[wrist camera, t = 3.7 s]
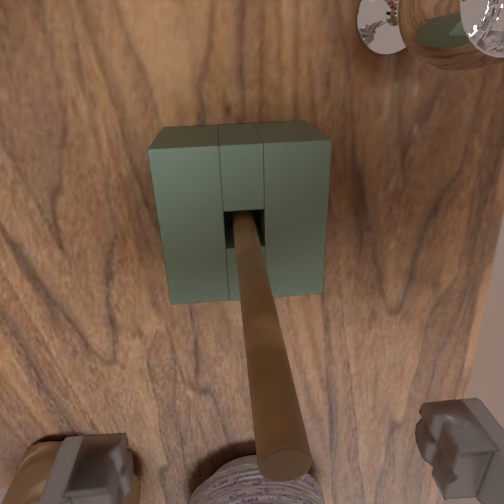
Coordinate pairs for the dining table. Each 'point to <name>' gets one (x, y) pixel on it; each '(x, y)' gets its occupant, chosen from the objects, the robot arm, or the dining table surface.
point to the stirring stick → (267, 364)
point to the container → (45, 475)
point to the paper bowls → (254, 487)
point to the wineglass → (436, 30)
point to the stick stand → (241, 205)
